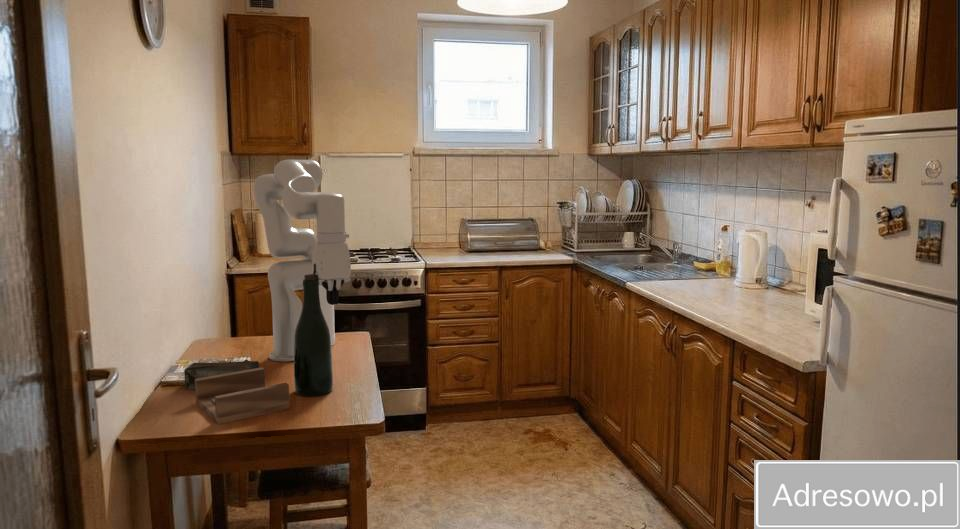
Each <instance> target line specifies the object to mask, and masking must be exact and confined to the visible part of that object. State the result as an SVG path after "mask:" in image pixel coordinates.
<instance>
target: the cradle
mask: <svg viewBox="0 0 960 529" xmlns="http://www.w3.org/2000/svg"><path fill="white" fill-rule="evenodd" d="M265 371H266V370H265V368H264V367H259V368H255V369H249V370H244V371H238V372H232V373H227V374H221V375H215V376H209V377H204V378H198V379H195V389H194V392H195V404H197V405H198V406H199V407H200V408H201V409H202V411H204V413H206V415H208V416H209V417H210V418H211V419H213V420H214V422H215V423H217V425H222V424H225V423H227V424H228V423H232V422H235V421H240V420H245V419H249V418H253V417H258V416H259V417H260V416H263V415H268V414H272V413H277V412H281V411H286V410H290V385H289V384H288V383H287V382H283V383H276V384H272V385H266V373H265Z"/></svg>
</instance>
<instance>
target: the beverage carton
mask: <svg viewBox="0 0 960 529" xmlns="http://www.w3.org/2000/svg"><path fill="white" fill-rule="evenodd" d="M255 368H260V363H259V361H258V360H257V361H255V360H254V361H253V360H244V361H221V362H220V361H219V362H217V361H216V362H193V363H191V364H190V365H188V366H187V368H185V369H184V370H183V372H184V387H185V390H195V379H198V378H204V377H209V376H215V375H221V374H227V373H232V372H238V371H244V370H249V369H255Z"/></svg>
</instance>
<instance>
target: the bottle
mask: <svg viewBox="0 0 960 529" xmlns="http://www.w3.org/2000/svg"><path fill="white" fill-rule="evenodd" d="M319 298H320V306H321V310H322V313H323V315H324V318H325V320H326V322H327V325H328V327H329V331H330V336H331V347H332V346H334V345H335V342H336V335H335V333H336V332H335V329H336V328H335V304H334V305H331V304H328V302H327V298H326V289H325V288H324V287H323V286H322V285H320V286H319Z"/></svg>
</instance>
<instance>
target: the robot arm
mask: <svg viewBox="0 0 960 529" xmlns="http://www.w3.org/2000/svg"><path fill="white" fill-rule="evenodd" d="M323 175H324V174H323V170H322V167H321V165H320V163H319V162H317V161H315V160H312V159H284V160H281V161H279V162H277V164H275V166H274V168H273V173H267V174H262V175H259V176H257V177H256V179H255V180H254V183H253V194H254V199H255V203H256V205H257V207H258V209H259V211H260V214H261V216H262V219H263V223H264V224H263V225H264V229H265V230H264V232H265V237H266V238H265V239H266V242H267V248H268V252H269V254H270V256H271V257H273V258H276V259H290V258H302V260H301V259H300V260H285V261H278V262H275V263H273V264H271V265H270V266H269V268H268V270H267V279H268V284H269V289H270V296H271V311H272V312H271V313H272V314H271V315H272V337H273V339H272V340H273V344H272V345H273V351H271V352H269V354H268V359H269V360H271V361H275V362H281V363H282V362H286V363H287V362H294V334H295V329H296V326H297V323H298V320H299V318H300V315H301V311H302V305H303V301H302V300H301V298H300V297H299V296H298V295H297V294H296V293H295V292H296V291H299V290H303V284H302V282H303V280H304V276H305V275H307V274H316V275H317V279H318V280H319V286H320V285H322V286H323V287H324V288H325V289H326V298H327V302H328V304H331V305H334V306H335V305H338V304H339V298H340V293H339V292H340V291H339V290H341V287H342V286H343V285H344V284H345V283H349V282H351V275H352V274H351V273H352V268H351V267H352V264H351V255H350V250H349V246H348V243H347V242H346V240H347V239H349V238H350V234H349V233H346V225H345V224H346V222H345V220H346V219H345V218H346V216H345V215H346V214H345V198H344V196H343V195H342V194H340V193H334V192H331V191H316V190H317V189H318V187H319V186H320V185H321V183H322V181H323ZM279 201H282V204H281V203H280V202H279ZM291 217H292V218H294V219H297V220H312V219H313V220H315V219H316V232H317V233H315V231H314V230H312V229H311V228H308V227H307V228H306V227H297V228H294V227H293V225H292V219H291Z"/></svg>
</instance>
